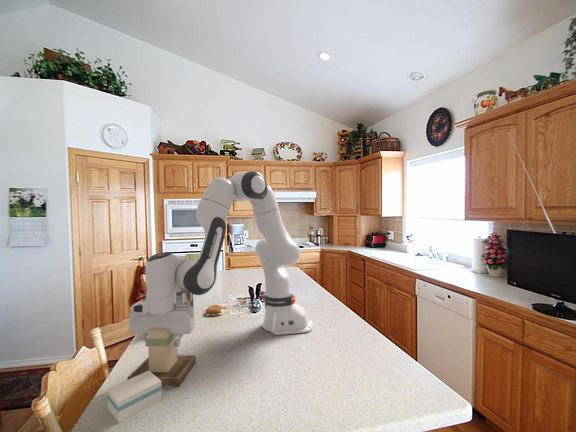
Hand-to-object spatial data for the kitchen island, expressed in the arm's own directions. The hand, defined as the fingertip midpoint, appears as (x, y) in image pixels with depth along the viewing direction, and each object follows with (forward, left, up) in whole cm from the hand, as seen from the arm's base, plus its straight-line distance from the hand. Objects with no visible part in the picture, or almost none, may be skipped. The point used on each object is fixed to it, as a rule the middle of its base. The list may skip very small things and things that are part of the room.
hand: (163, 345), depth 91 cm
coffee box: (+10, -37, -9) cm, 39 cm away
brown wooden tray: (0, 0, -9) cm, 9 cm away
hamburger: (-1, -53, -10) cm, 54 cm away
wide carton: (+1, +14, -9) cm, 17 cm away
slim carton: (0, 0, -7) cm, 7 cm away
